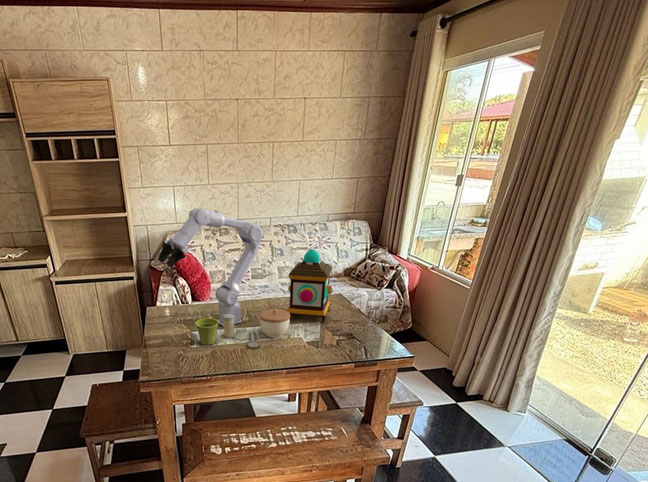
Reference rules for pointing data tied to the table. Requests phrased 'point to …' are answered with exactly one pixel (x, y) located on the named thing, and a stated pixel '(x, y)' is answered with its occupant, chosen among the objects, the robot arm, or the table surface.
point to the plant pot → (207, 330)
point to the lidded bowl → (274, 322)
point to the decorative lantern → (310, 287)
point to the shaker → (228, 325)
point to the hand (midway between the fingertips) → (163, 263)
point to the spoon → (253, 342)
